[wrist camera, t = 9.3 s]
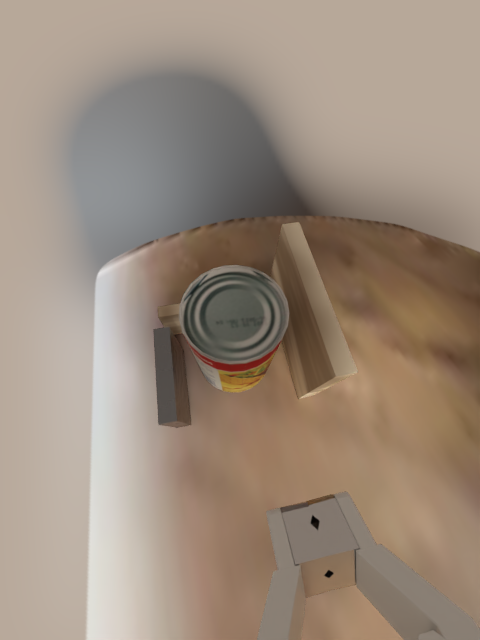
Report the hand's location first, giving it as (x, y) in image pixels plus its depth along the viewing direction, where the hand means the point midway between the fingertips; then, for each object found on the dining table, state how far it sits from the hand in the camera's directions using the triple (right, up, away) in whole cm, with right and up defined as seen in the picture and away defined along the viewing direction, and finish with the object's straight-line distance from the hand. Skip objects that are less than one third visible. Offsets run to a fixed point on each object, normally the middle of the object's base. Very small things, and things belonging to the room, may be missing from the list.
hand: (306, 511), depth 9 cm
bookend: (-9, 0, +18) cm, 20 cm away
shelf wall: (-3, +4, +20) cm, 21 cm away
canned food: (-3, +3, +20) cm, 20 cm away
